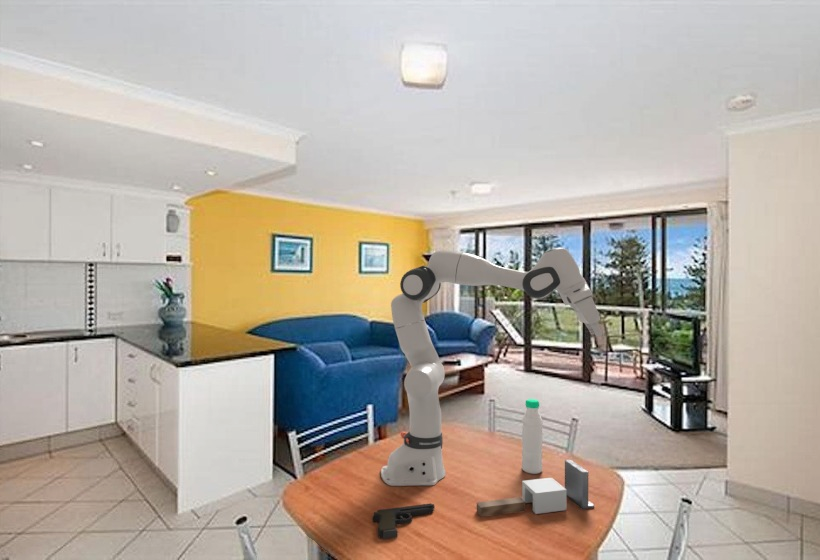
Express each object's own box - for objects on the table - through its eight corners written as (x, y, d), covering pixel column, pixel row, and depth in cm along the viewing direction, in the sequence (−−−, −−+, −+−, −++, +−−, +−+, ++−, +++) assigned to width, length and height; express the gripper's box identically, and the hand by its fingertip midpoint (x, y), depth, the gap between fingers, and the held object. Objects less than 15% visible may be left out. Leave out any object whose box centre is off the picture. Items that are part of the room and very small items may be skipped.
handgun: (447, 522, 117) (432, 500, 129) (379, 532, 112) (370, 507, 124) (447, 532, 117) (432, 509, 129) (378, 542, 112) (369, 517, 124)
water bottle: (543, 475, 150) (543, 403, 150) (522, 473, 152) (522, 402, 152) (541, 467, 157) (541, 398, 157) (521, 465, 159) (521, 397, 159)
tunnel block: (535, 514, 125) (535, 493, 125) (522, 500, 133) (522, 480, 133) (566, 509, 127) (566, 489, 127) (551, 496, 135) (551, 477, 135)
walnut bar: (480, 518, 124) (480, 507, 124) (476, 512, 127) (476, 502, 127) (525, 512, 127) (525, 501, 127) (520, 506, 130) (520, 496, 130)
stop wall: (582, 509, 128) (582, 472, 128) (564, 494, 137) (564, 460, 137) (594, 507, 129) (594, 471, 129) (575, 493, 138) (575, 458, 138)
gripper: (563, 299, 147) (582, 336, 145) (570, 298, 127) (592, 341, 125) (580, 291, 146) (600, 328, 144) (591, 289, 126) (614, 332, 124)
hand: (597, 334), depth 134 cm, fingers open, 8 cm apart
